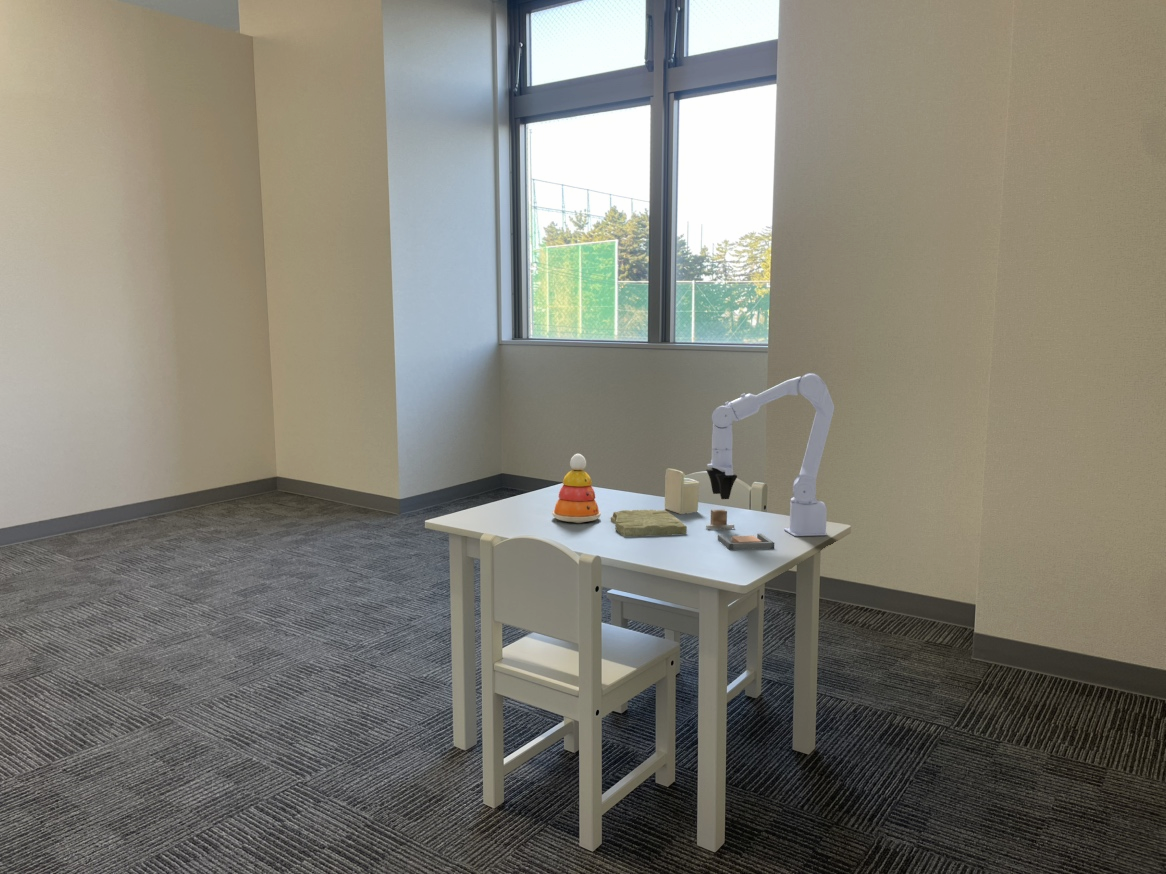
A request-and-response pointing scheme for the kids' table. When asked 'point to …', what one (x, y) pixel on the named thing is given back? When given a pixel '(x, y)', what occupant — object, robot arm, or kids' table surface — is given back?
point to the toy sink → (680, 492)
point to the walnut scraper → (719, 520)
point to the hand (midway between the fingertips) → (720, 496)
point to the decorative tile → (647, 523)
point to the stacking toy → (577, 495)
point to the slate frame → (764, 544)
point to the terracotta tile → (745, 539)
